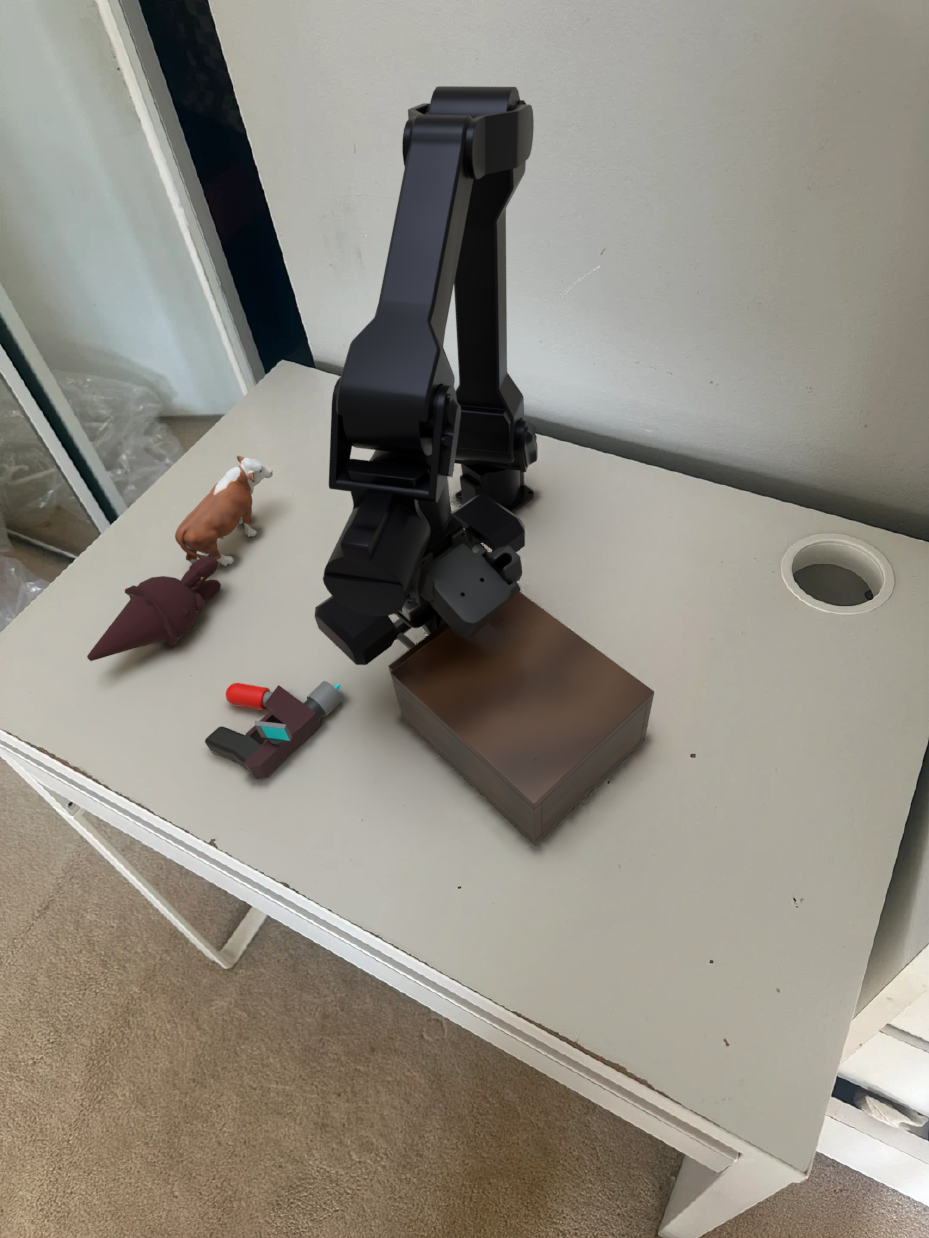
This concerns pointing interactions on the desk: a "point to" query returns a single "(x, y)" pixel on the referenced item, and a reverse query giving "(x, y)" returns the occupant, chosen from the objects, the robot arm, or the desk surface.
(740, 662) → the desk surface
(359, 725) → the desk surface
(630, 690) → the cabinet
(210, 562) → the icecream
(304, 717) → the toy gun
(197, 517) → the bull figurine
